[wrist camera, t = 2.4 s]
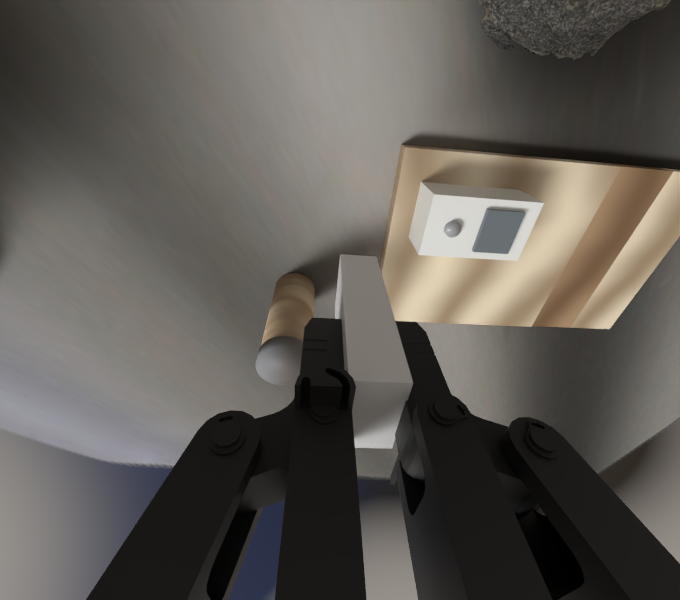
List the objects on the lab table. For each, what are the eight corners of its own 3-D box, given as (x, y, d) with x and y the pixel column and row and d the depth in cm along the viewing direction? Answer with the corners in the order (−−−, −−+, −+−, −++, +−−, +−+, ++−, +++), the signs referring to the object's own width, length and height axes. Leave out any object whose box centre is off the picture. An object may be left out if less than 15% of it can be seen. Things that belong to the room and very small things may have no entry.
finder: (408, 237, 23) (419, 257, 20) (421, 181, 21) (435, 195, 18) (497, 242, 24) (519, 263, 21) (518, 189, 21) (547, 204, 19)
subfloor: (371, 312, 28) (373, 320, 27) (401, 144, 20) (405, 147, 20) (601, 322, 30) (610, 329, 29) (709, 172, 22) (726, 176, 21)
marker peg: (275, 305, 28) (257, 385, 20) (274, 271, 26) (253, 346, 18) (314, 307, 28) (311, 386, 20) (316, 273, 26) (313, 348, 18)
